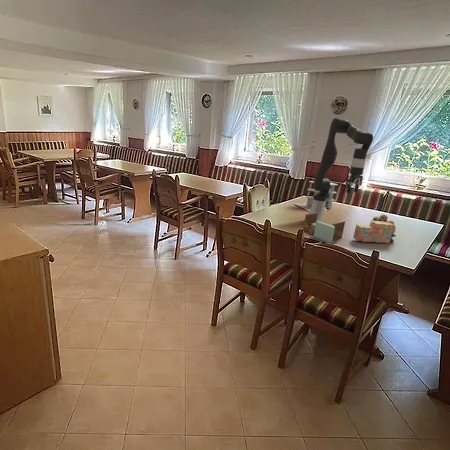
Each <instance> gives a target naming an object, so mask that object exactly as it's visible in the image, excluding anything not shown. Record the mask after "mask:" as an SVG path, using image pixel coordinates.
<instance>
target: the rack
mask: <svg viewBox="0 0 450 450" xmlns="http://www.w3.org/2000/svg"><path fill="white" fill-rule="evenodd" d="M309 213H310V212H309ZM309 213H306V214H305V217H304V223H303V228H302V230H303V231H305V232H307V233H310V234H313V235H314V231H315V228H314V227H312V226H311V224H312V223H316V220H317V215H318V213H317V212H316V213H310V214H309ZM345 224H346V221H345V220H342V221H337V222H333V223H332V226H335V230H334V234H333V239H332V241H335V240H338V239H342V238H343V233H344V228H345Z"/></svg>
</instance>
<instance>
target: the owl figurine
mask: <svg viewBox="0 0 450 450" xmlns="http://www.w3.org/2000/svg"><path fill="white" fill-rule="evenodd" d="M388 217H389V216H388V215H386V214H381V215H380V216H373V218H372V220H371V221H383V222H389V223H391V224H393V225H394V228H393V233H392V236H391V240H390V243H389V244H391V243H394V242H395V240H394V239H393V238H396V237H397V235H396V234H394V233H396V225H395V222H394V221H393V220H388Z"/></svg>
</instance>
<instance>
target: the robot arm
mask: <svg viewBox="0 0 450 450" xmlns="http://www.w3.org/2000/svg"><path fill="white" fill-rule="evenodd" d="M336 134H345V135H346V136H347V137H348V138H349V139H351V140H352V141H353V143H355V144H358V145H362V146H361V147H357V148H355V149H354V151H353V156H352V160H351V163H350V168H349V174H350V175H347V177H346V181H345V187H347V188H346V194H351V192H352V187H353V185H354V190H353V192H354V193H358V192H359V187H360V186H362V183H363V174H364V170H365V167H366V166H365V165H366V158H367V153H368V151H369V149H370V147H371V145H372V143H373V142H374V141H373V140H374V135H373V132H369V131H368V132H367V131H363V130H362V129H360V128H358V127H356V126H354V125H353V124H352V123H351V122H350V121H349V120H348V119H345V118H338V117H334V118H333V119H332V121H331V123H330V127H329V132H328V136H327V140H326V143H325V147H324V150H323V154H322V156H321V161H320V164H319V166H318V170H317V172H316V175H315V177H314V180H313V181H314V183H313V182H312V184H313V185H312V187H313V188H312V189H314V190H315V191H320V192H319V193H318V194H316V195H313V202H312V208H311V209H310V211H309V213H308V214H310V213H316V212H317V213H318V215H317V220H316V221H320V222H323V218H324V213H325V211H324V208H325V203H326V199H327V197H328V193H329V189H330V182H331V180H330V179H329V178H325V175H326V174H327V172H328V171H329V170H330V169H331V168H332V167H333V166H334V164H335V163H336V160H337V156H338V149H337V145H336V141H335V140H336Z"/></svg>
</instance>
